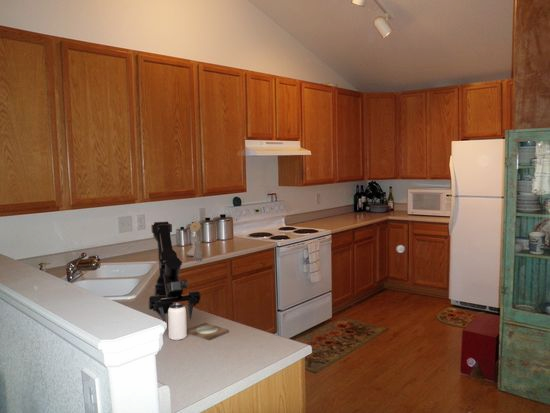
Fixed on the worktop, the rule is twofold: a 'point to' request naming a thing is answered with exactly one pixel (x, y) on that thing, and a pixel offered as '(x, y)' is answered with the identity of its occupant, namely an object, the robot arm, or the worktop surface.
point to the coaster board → (207, 331)
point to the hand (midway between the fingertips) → (177, 320)
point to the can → (177, 321)
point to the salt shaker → (197, 251)
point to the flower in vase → (194, 237)
